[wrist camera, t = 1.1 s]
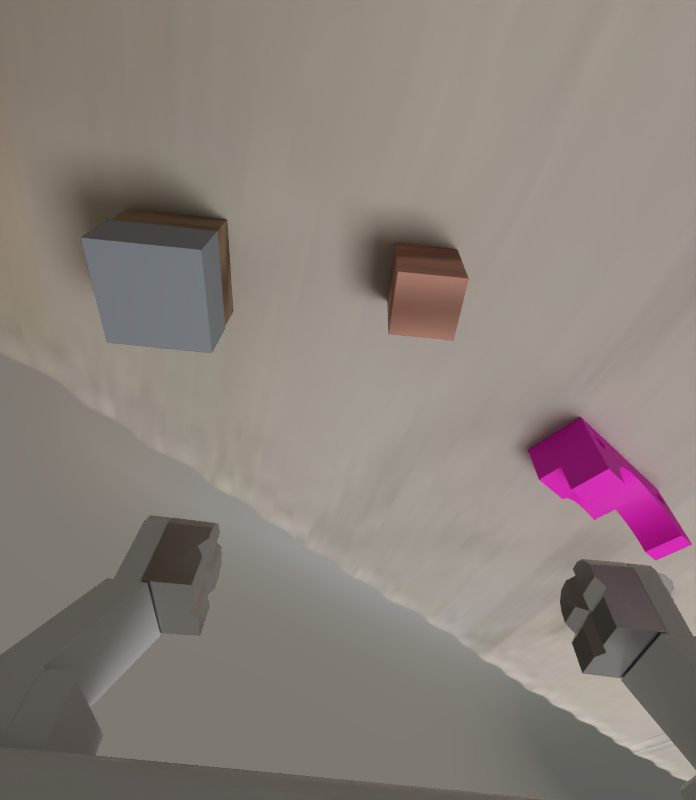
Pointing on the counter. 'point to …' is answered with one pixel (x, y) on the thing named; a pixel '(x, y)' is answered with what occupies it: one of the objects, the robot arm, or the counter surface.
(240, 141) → the counter surface
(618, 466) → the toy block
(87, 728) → the robot arm
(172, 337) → the tower middle
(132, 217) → the tower base
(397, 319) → the reddish brown cube
